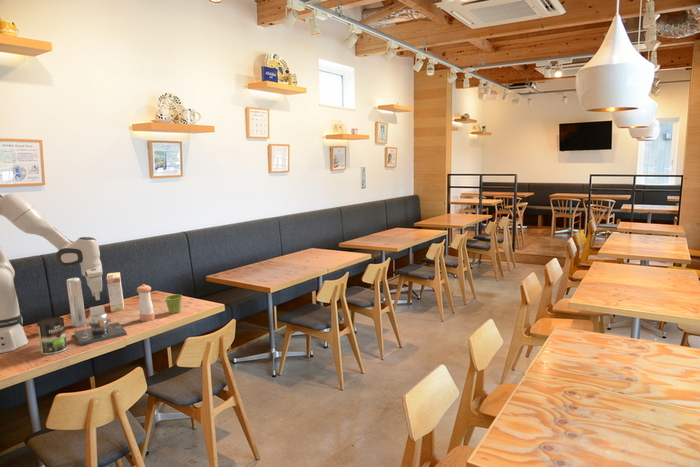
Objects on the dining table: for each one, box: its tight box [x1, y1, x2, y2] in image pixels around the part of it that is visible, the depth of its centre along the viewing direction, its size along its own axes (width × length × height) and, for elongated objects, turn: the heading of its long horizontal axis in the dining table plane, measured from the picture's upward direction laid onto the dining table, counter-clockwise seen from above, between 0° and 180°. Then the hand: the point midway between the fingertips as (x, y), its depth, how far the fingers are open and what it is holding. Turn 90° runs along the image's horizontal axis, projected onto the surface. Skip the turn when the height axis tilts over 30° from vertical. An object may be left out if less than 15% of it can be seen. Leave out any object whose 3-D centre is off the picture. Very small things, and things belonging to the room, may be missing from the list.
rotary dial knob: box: [86, 304, 112, 328], centre depth 231 cm, size 14×10×9 cm
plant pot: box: [163, 294, 183, 314], centre depth 264 cm, size 9×9×9 cm
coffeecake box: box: [106, 271, 125, 313], centre depth 277 cm, size 15×7×20 cm, turn 25°
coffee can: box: [36, 316, 68, 356], centre depth 215 cm, size 10×10×14 cm
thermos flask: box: [66, 277, 88, 328], centre depth 248 cm, size 6×6×25 cm
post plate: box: [74, 321, 128, 346], centre depth 234 cm, size 20×19×5 cm
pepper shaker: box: [136, 283, 156, 322], centre depth 253 cm, size 7×7×19 cm
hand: (96, 297), depth 232 cm, fingers open, 8 cm apart
